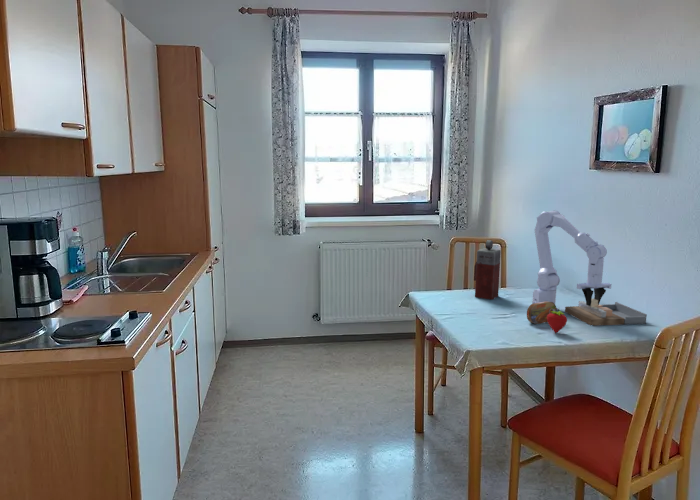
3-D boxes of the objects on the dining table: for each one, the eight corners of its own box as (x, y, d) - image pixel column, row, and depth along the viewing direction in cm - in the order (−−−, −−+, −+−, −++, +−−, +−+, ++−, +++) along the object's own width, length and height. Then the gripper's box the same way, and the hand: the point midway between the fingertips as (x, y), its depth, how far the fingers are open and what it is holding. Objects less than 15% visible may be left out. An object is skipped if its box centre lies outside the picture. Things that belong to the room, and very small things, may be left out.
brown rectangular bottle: (476, 292, 270) (479, 238, 265) (498, 296, 263) (501, 240, 259) (470, 296, 262) (472, 240, 258) (492, 299, 256) (495, 242, 252)
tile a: (601, 316, 221) (602, 310, 221) (595, 313, 225) (596, 307, 225) (611, 315, 222) (612, 310, 221) (605, 312, 226) (605, 307, 226)
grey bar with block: (600, 317, 218) (601, 304, 217) (577, 306, 235) (578, 294, 234) (606, 317, 218) (608, 304, 217) (583, 306, 235) (584, 294, 234)
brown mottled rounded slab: (530, 325, 216) (531, 305, 215) (524, 323, 219) (525, 303, 217) (556, 320, 223) (558, 301, 221) (550, 318, 226) (552, 299, 224)
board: (590, 325, 216) (591, 319, 216) (564, 312, 236) (565, 306, 235) (623, 324, 218) (624, 318, 218) (595, 311, 238) (595, 305, 237)
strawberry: (548, 328, 211) (550, 304, 210) (568, 332, 207) (570, 307, 205) (543, 332, 207) (545, 307, 205) (563, 336, 202) (565, 310, 201)
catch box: (624, 324, 218) (625, 315, 218) (595, 311, 238) (596, 302, 237) (645, 323, 219) (646, 314, 219) (615, 310, 239) (616, 301, 238)
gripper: (584, 275, 219) (581, 308, 221) (616, 275, 221) (614, 307, 223) (574, 272, 226) (572, 303, 228) (606, 271, 228) (603, 302, 230)
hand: (592, 305), depth 226 cm, fingers closed on grey bar with block, 3 cm apart
